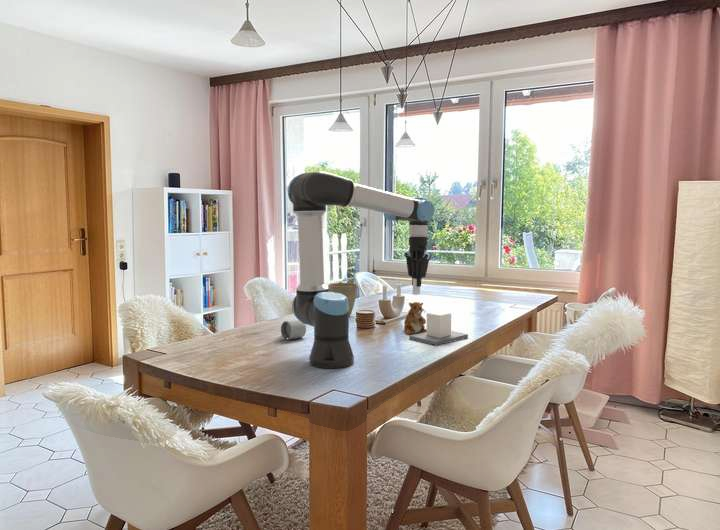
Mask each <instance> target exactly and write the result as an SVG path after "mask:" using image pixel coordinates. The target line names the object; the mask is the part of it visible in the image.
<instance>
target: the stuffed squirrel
mask: <svg viewBox="0 0 720 530" xmlns="http://www.w3.org/2000/svg"><path fill="white" fill-rule="evenodd" d="M423 305H424V303H423V302H421V303H420V302H419V301H418V302H417V301H414V302H408V306H409V307H410V308H409V310H408V311H407V314H406V316H405V320H404V322H403V323H404V327H403V329H404V330H403V331H404V333H405V334H406V335H407V334H409V335H413V334H419V333H424V332H427V328H425V324H427V319H426V318H424V317H423V316H422V314H423V313H424V314H425V312H426V313H427V311H426V310H425V309H424V308H423V307H422V306H423Z"/></svg>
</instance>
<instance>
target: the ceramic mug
mask: <svg viewBox="0 0 720 530" xmlns="http://www.w3.org/2000/svg"><path fill="white" fill-rule="evenodd" d="M306 328H307V327H306V324H304V323H302V322H301V321H300V320H298V319H297V320H284V321H283V322H282V324H281V325H280V333H281V334H280V335H281V337H282V338H283V339H284V340H285V339H286V340H285V341H290V339H291V340H296V339H301V338H302V337H304V336H305V335H306V332H307V329H306ZM287 338H288V339H287Z"/></svg>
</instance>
